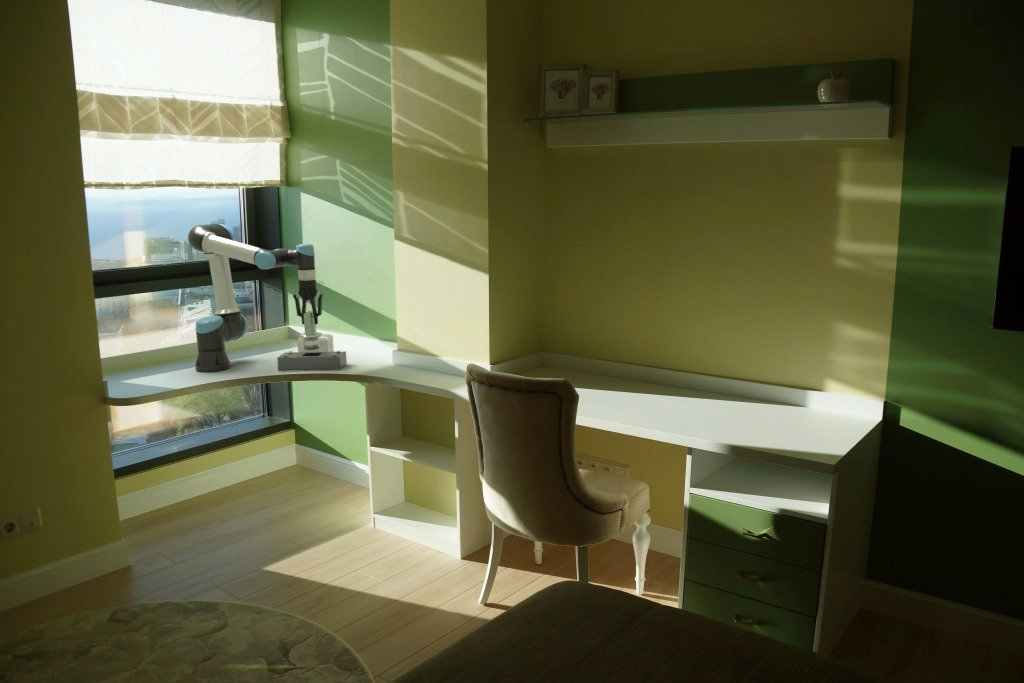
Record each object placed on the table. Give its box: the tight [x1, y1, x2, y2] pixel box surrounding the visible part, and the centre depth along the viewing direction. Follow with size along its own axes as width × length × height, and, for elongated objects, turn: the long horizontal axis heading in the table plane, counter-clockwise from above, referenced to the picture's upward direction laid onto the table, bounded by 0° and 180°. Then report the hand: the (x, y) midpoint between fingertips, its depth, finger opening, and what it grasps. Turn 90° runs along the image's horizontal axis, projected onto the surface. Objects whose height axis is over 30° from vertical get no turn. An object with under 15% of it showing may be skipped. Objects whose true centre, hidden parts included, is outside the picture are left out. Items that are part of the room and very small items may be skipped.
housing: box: [277, 350, 348, 372], centre depth 375 cm, size 28×12×7 cm, turn 88°
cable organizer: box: [297, 332, 335, 352], centre depth 393 cm, size 15×11×12 cm
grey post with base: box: [299, 310, 323, 350], centre depth 373 cm, size 10×10×16 cm
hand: (310, 331), depth 373 cm, fingers closed on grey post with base, 3 cm apart
